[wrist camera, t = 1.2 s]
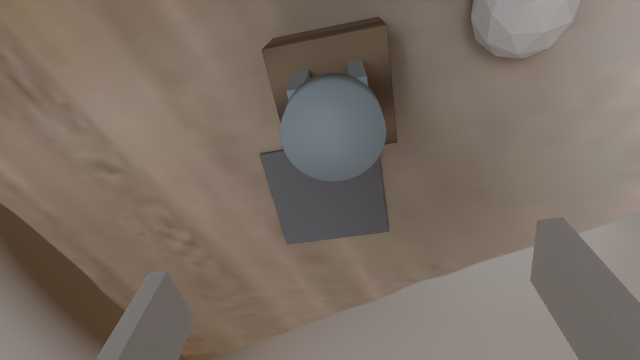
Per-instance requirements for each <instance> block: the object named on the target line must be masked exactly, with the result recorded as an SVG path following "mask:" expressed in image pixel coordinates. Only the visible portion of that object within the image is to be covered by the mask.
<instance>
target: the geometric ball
mask: <svg viewBox="0 0 640 360" xmlns="http://www.w3.org/2000/svg"><path fill="white" fill-rule="evenodd" d="M581 1H582V0H473V4H472V12H471V22H472V27H473V32H474V36H475V41H477V42H478V43H479V44H480V45H482V46H483V47H484V48H486V49H487V50H488V51H489V52H491V53H492V54H493V55H494V56H497V57H510V58H527V57H529V56H531V55H534V54H536V53H538V52H541V51H543V50H546V49H548V48H550V47H552V46H553V44H554V43H555V42H556V41H557V40H558V39H559V38H560V37H561V36H562V35H563V34H564V33H565V32H566V31H567V30H568V29H569V28H570V27H571V26H572V25H573V24H574V21H575V18H576V16H577V13H578V10H579V7H580V4H581Z"/></svg>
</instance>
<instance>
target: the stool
mask: <svg viewBox="0 0 640 360" xmlns="http://www.w3.org/2000/svg"><path fill="white" fill-rule="evenodd" d="M347 66H348V74H349V75H347V74H342V73H325V74H321V75H317V76H315V77H312V78H310V75H309V70H304V71H298V72H294V74H293V76H292V79H291V81H290V84H289V86H288V88H287V91H286V92H287V96H288V100H289V101H288V104H287V107H286V109H285V112H284V115H283V117H282V121H281V126H280V139H281V144H282V147H283V150H284V152H285V154H286V156H287V157H288V159H289V160H290V161H291V163H292V164H293V165H294V166H295V167H296V168H297V169H299V170H300V171H301V172H303V173H304V174H306V175H308V176H310V177H313V178H315V179H319V180H323V181H343V180H348V179H351V178H354V177H356V176H358V175H360V174H362V173H363V172H365V171H366V170H367V169H369V168H370V167H371V166H372V165H373V164H374V163H375V162H376V160H377V159H378V158H379V156H380V154H381V152H382V150H383V147H384V144H385V140H386V124H385V119H384V116H383V113H382V110H381V107H380V104H379V102H378V100H377V98H376V96H375V94H374V93H373V91H372V90H371V89H370V88H369V87H368V81H367V75H366V72H365V69H364V65H363V62H362V59H361V60H356V61H351V62H347Z"/></svg>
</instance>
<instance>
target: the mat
mask: <svg viewBox="0 0 640 360" xmlns="http://www.w3.org/2000/svg"><path fill="white" fill-rule="evenodd" d="M260 157H261V161H262V164H263V167H264V170H265V174H266V177H267V180H268V183H269V187H270V190H271V193H272V197H273V200H274V203H275V206H276V210H277V213H278V216H279V219H280V223H281V226H282V229H283V232H284V236H285V239H286V242H287V244H294V243H302V242H310V241H318V240H326V239H334V238H341V237H349V236H357V235H365V234H373V233H381V232H388V223H387V215H386V207H385V199H384V191H383V183H382V175H381V167H380V159H379V158H378V159H377V160H376V162H375V163H374V164H373V165H372V166H371V167H370V168H369V169H367V170H366V171H365V172H363V173H362V174H360V175H358V176H356V177H354V178H351V179H348V180H343V181H323V180H319V179H315V178H313V177H310V176H308V175H306V174H304V173H303V172H301V171H300V170H299V169H297V168H296V167H295V166H294V165H293V164H292V163H291V161H290V160H289V159H288V157H287V156H286V154H285V152H284V150H278V151H272V152H266V153H260Z"/></svg>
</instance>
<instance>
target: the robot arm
mask: <svg viewBox="0 0 640 360" xmlns="http://www.w3.org/2000/svg"><path fill="white" fill-rule="evenodd" d="M531 282H532V284H533V285H534V287H535V289H536V290H537V292H538V293H539V295H540V297H541V298H542V300H543V302H544V303H545V305H546V306H547V308H548V310H549V312H550V313H551V314H552V316H553V318H554V320H555V321H556V323H557V325H558V326H559V328H560V329H561V331H562V332H563V334H564V336H565V338H566V339H567V341H568V342H569V344H570V346H571V347H572V349H573V351H574V352H575V354H576V355H577V357H578V359H579V360H640V303H639V302H638V301H637V299H636V298H635V297H634V296H633V295H632V294H631V293H630V292H629V291H628V290H627V288H626V287H625V286H624V285H623V284H622V283H621V282H620V281H619V279H618V278H617V277H616V276H615V275H614V274H613V273H612V272H611V270H610V269H609V268H608V267H607V266H606V265H605V264H604V263H603V262H602V260H600V258H599V257H598V256H597V255H596V254H595V253H594V252H593V250H592V249H591V248H590V247H589V246H588V245H587V244H586V243H585V242H584V240H583V239H582V238H581V237H580V236H579V235H578V234H577V233H576V231H575V230H574V229H573V228H572V227H571V226H570V225H569V224H568V223H567V221H566V220H565V219H564V218H563V217H561V218H554V219H546V220H539V221H537V228H536V237H535V245H534V254H533V262H532V271H531ZM194 320H195V317H194V316H193V314H192V312H191V311H190V309H189V307H188V306H187V304H186V302H185V300H184V299H183V297H182V295H181V294H180V292H179V290H178V289H177V287H176V285H175V284H174V282H173V280H172V279H171V277H170V275H169V273H168V272H167V271H162V272H155V273H148V275H147V277H146V278H145V280H144V281H143V283H142V285H141V286H140V288H139V290H138V291H137V293H136V295H135V296H134V298H133V299H132V301H131V303H130V304H129V306H128V308H127V309H126V311H125V313H124V314H123V316H122V317H121V319H120V321H119V322H118V324H117V326H116V327H115V329H114V330H113V332H112V334H111V335H110V337H109V339H108V340H107V342H106V343H105V345H104V347H103V349H102V350H101V352H100V353H99V355H98V357H97V358H96V360H179V357H180V355H181V352H182V350H183V347H184V345H185V342H186V340H187V337H188V335H189V332H190V330H191V327H192V325H193V322H194Z"/></svg>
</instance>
